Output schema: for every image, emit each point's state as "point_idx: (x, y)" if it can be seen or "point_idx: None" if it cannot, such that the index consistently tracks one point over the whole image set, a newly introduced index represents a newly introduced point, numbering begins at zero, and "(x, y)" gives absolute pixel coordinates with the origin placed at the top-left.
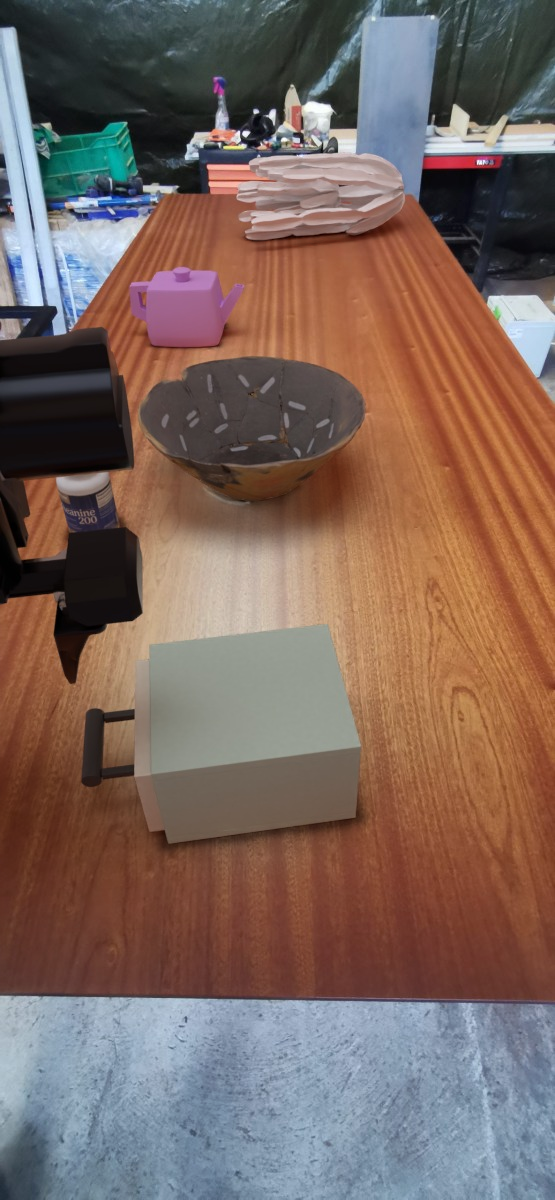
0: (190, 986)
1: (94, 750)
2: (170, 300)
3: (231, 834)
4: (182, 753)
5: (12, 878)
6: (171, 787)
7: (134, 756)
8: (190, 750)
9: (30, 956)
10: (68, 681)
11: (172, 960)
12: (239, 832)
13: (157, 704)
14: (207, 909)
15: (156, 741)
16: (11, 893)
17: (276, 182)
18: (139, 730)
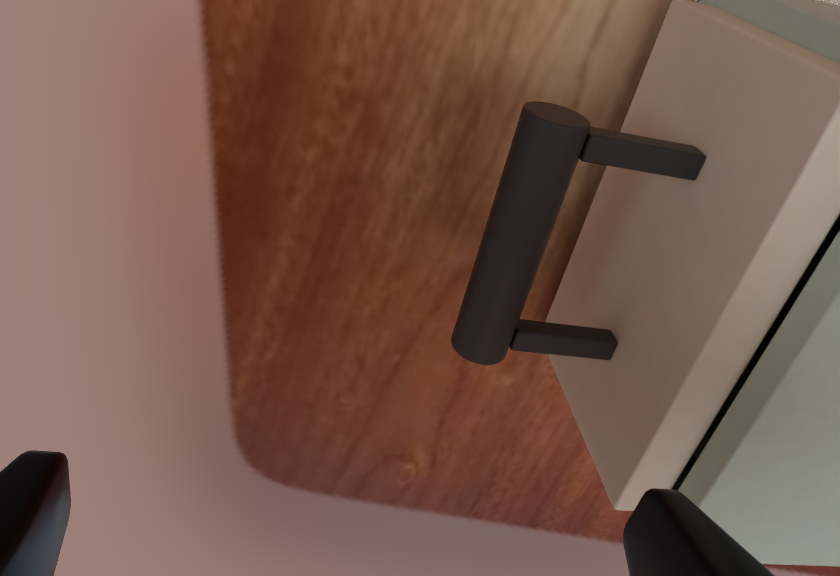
0: (506, 523)
1: (518, 291)
2: None
3: None
4: (764, 528)
5: (230, 324)
6: None
7: (640, 463)
8: (787, 528)
9: (270, 452)
10: (630, 573)
11: (494, 494)
12: None
13: (805, 385)
14: (574, 447)
15: (726, 492)
16: (230, 351)
17: None
18: (692, 394)
